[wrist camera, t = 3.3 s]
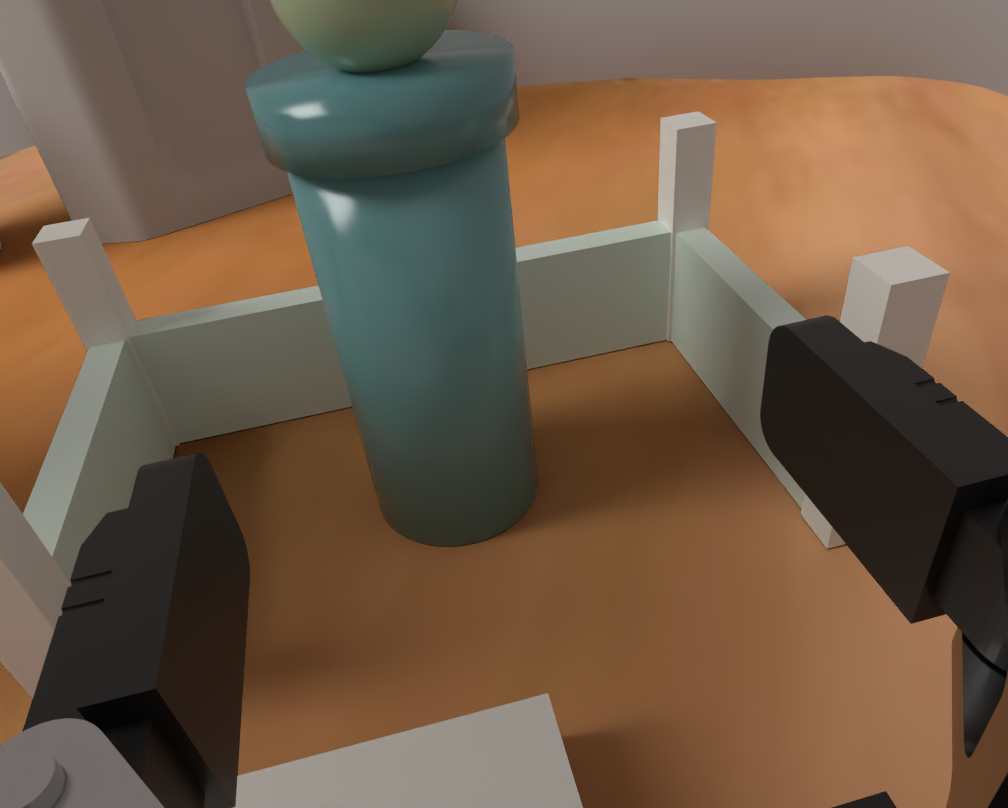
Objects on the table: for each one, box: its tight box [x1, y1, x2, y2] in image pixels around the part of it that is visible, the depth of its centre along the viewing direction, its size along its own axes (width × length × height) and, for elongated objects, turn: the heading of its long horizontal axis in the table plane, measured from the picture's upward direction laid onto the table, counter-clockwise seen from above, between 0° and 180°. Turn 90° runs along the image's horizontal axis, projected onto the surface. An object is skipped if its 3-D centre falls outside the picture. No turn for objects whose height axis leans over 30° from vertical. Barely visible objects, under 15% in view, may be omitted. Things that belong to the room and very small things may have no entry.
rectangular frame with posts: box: [0, 111, 950, 699], centre depth 24 cm, size 14×24×9 cm, turn 103°
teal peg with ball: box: [245, 0, 538, 546], centre depth 21 cm, size 6×6×18 cm
